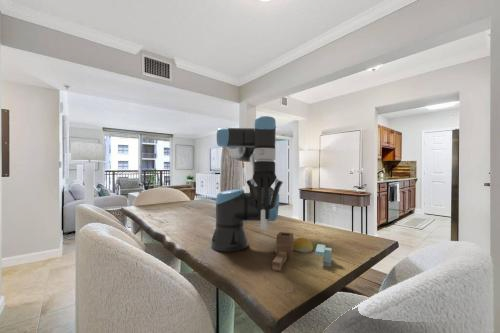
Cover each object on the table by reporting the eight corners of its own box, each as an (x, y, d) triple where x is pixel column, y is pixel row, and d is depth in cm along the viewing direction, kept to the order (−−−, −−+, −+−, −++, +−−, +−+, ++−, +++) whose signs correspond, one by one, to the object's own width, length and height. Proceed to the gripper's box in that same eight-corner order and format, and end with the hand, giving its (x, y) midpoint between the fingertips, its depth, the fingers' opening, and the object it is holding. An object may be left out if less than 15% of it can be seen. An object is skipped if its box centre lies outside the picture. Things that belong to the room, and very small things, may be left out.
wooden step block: (284, 271, 71) (284, 246, 71) (268, 268, 73) (268, 243, 73) (293, 254, 85) (293, 233, 85) (279, 252, 87) (279, 231, 87)
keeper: (315, 265, 76) (315, 251, 76) (317, 256, 83) (317, 244, 83) (331, 267, 74) (331, 253, 74) (331, 258, 81) (331, 245, 82)
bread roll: (291, 252, 88) (291, 242, 88) (292, 245, 97) (292, 235, 97) (313, 254, 86) (313, 244, 86) (312, 246, 95) (312, 237, 95)
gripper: (243, 160, 78) (242, 228, 78) (280, 160, 73) (279, 232, 73) (251, 161, 85) (250, 224, 85) (285, 161, 80) (284, 227, 80)
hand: (263, 228), depth 79 cm, fingers closed
